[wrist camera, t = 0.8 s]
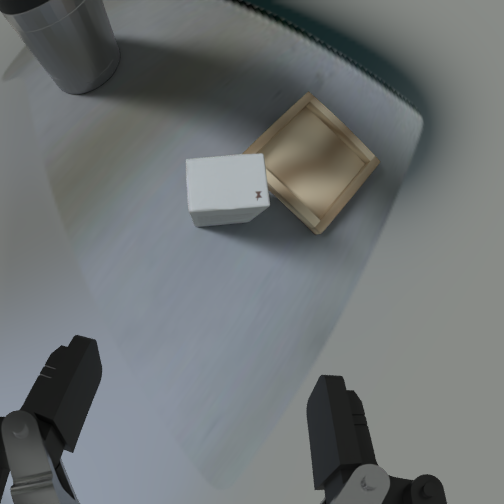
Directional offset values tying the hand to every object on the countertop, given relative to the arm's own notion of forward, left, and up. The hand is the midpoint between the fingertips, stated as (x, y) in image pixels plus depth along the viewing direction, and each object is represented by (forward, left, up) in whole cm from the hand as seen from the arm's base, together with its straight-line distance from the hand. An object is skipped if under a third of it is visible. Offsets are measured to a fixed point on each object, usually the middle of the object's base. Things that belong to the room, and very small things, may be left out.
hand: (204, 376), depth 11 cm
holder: (-1, +19, -24) cm, 31 cm away
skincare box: (-5, +8, -25) cm, 26 cm away
